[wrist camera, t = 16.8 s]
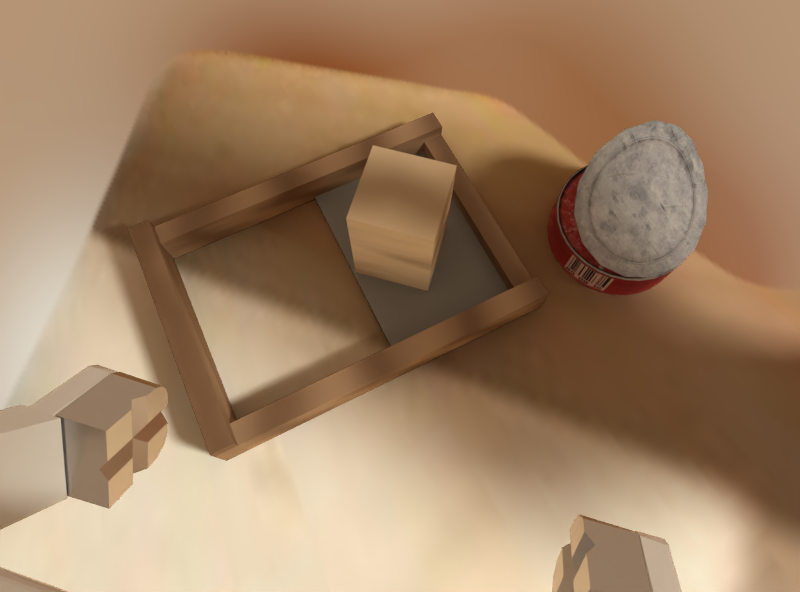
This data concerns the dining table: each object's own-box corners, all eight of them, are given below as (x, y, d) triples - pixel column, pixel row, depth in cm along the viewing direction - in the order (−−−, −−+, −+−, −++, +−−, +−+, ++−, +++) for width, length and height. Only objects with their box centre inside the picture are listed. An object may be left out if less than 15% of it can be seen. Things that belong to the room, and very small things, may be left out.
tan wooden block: (377, 209, 43) (372, 145, 36) (446, 226, 43) (456, 165, 35) (355, 272, 42) (346, 218, 34) (428, 291, 41) (434, 240, 34)
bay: (431, 132, 46) (433, 103, 43) (540, 306, 41) (552, 288, 38) (148, 250, 43) (127, 228, 39) (226, 460, 37) (209, 455, 34)
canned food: (638, 231, 49) (755, 185, 40) (609, 328, 44) (733, 300, 36) (544, 148, 45) (649, 79, 37) (503, 244, 41) (611, 191, 32)
